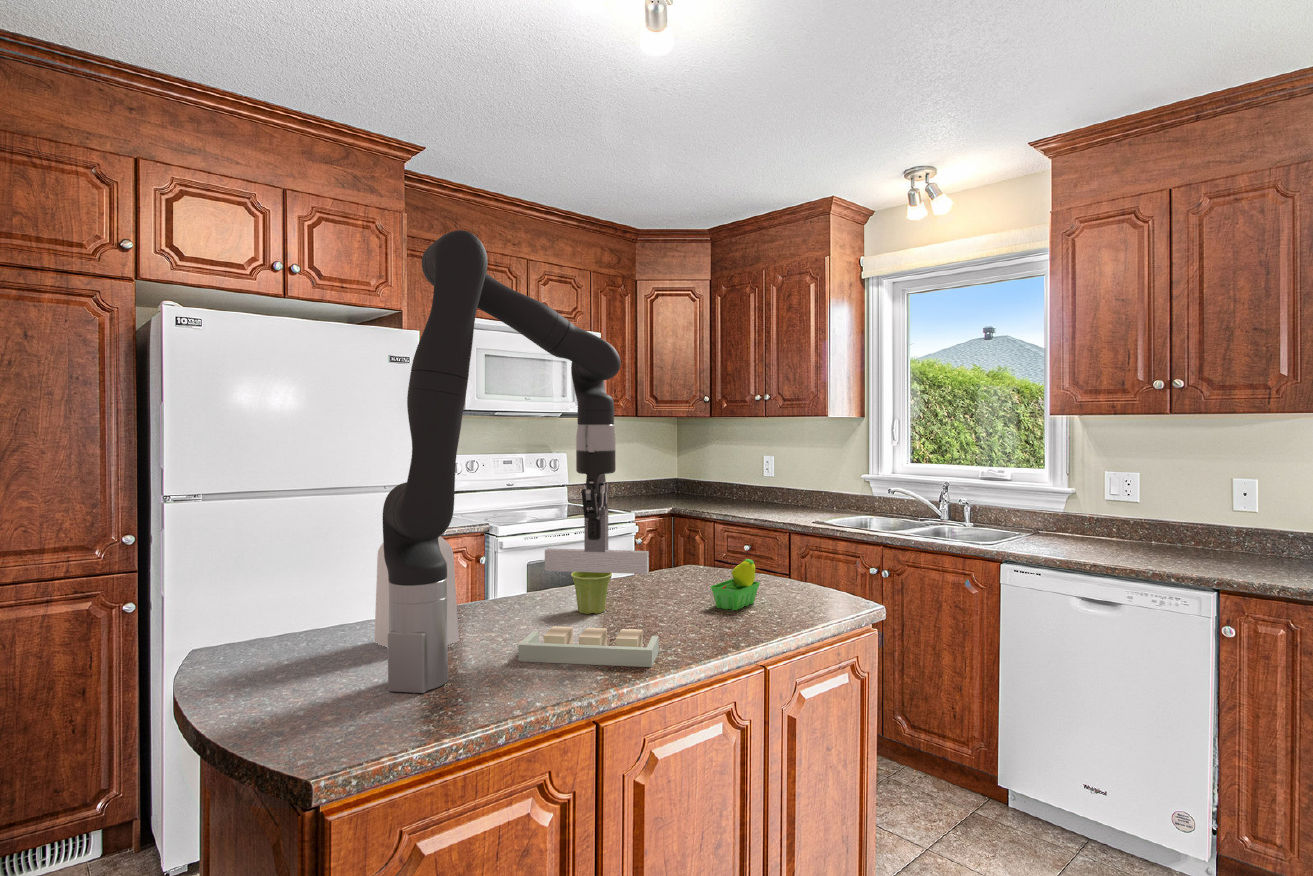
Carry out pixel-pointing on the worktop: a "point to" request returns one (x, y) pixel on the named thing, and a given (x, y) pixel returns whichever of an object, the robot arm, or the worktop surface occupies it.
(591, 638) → the block middle
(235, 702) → the worktop surface
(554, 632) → the block left
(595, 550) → the t-shaped handle
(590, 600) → the plant pot
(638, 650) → the tray
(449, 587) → the milk
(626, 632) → the block right
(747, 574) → the fruit basket
